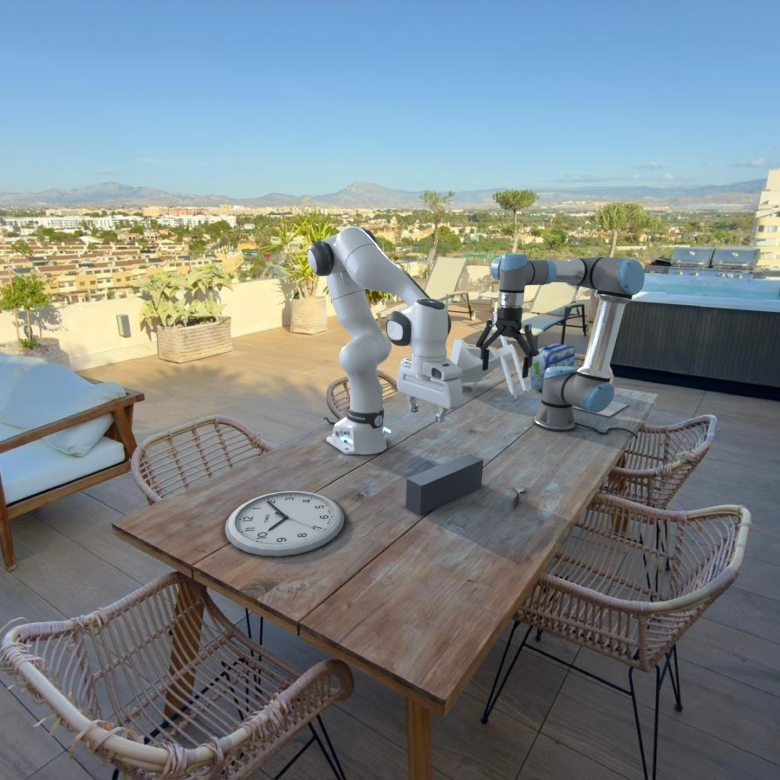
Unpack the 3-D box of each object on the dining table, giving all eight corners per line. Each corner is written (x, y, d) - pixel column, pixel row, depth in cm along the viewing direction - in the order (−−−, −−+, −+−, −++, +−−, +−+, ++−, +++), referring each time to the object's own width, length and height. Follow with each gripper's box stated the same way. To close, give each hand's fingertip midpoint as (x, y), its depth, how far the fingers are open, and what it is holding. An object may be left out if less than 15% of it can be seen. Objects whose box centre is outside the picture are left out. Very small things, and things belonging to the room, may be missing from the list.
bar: (467, 479, 159) (468, 453, 156) (481, 486, 155) (483, 459, 152) (405, 507, 143) (406, 478, 140) (420, 515, 139) (421, 486, 136)
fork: (509, 509, 142) (509, 503, 141) (516, 484, 156) (517, 477, 156) (519, 511, 141) (519, 504, 140) (525, 485, 155) (526, 479, 155)
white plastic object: (461, 429, 252) (437, 405, 227) (444, 352, 274) (420, 323, 250) (535, 404, 240) (518, 377, 215) (510, 326, 262) (492, 293, 237)
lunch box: (547, 395, 239) (552, 351, 233) (526, 390, 247) (530, 347, 240) (574, 384, 257) (579, 343, 251) (554, 380, 264) (558, 339, 258)
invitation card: (608, 416, 214) (573, 407, 224) (608, 416, 214) (573, 408, 224) (628, 404, 229) (594, 396, 238) (628, 405, 229) (594, 397, 238)
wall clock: (344, 547, 121) (211, 552, 118) (344, 554, 121) (212, 558, 119) (344, 486, 149) (237, 489, 147) (344, 491, 150) (237, 494, 147)
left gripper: (391, 358, 136) (390, 408, 140) (449, 375, 122) (446, 430, 126) (409, 355, 140) (408, 403, 144) (467, 371, 126) (464, 424, 130)
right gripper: (467, 303, 163) (463, 369, 169) (545, 311, 149) (537, 383, 155) (479, 301, 169) (474, 364, 175) (554, 309, 155) (547, 377, 161)
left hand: (426, 416), depth 135 cm, fingers open, 8 cm apart
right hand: (504, 373), depth 165 cm, fingers open, 13 cm apart
